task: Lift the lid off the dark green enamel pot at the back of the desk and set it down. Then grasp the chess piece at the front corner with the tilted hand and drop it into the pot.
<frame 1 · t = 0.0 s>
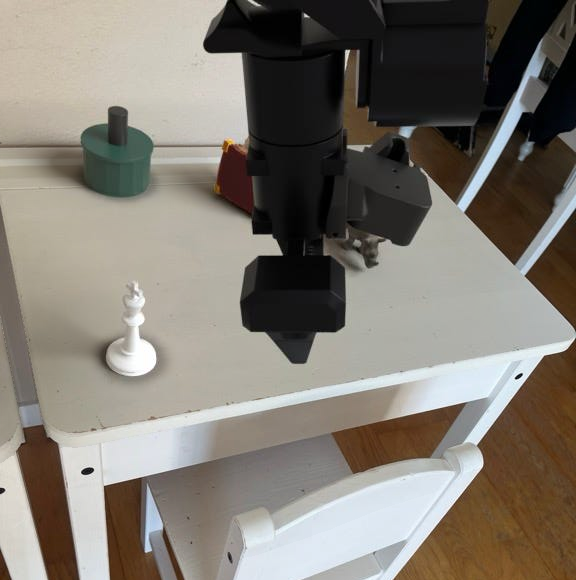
hand: (301, 320, 49), 16 cm above the table, tool pointing down, fingers open, 9 cm apart
chess piece: (131, 359, 63), on the table
book monster: (262, 199, 88), on the table
rhino figurine: (354, 250, 84), on the table
pot: (117, 179, 83), on the table
pot lid: (117, 144, 79), point 5 cm above the table, touching pot
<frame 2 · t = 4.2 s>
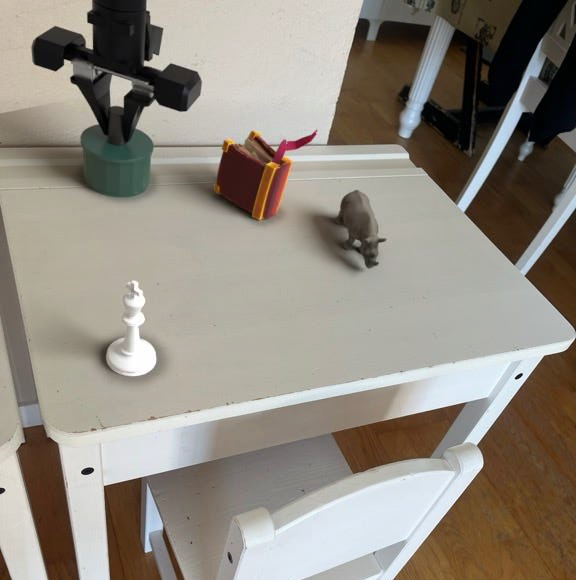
hand: (117, 137, 79), 6 cm above the table, tool pointing down, fingers closed on pot lid, 2 cm apart
pot lid: (117, 144, 79), point 5 cm above the table, touching gripper, pot
everything else where it was.
when the fingers open (2 cm above the table, at t = 9.6 s): pot lid stays where it is, point 1 cm above the table.
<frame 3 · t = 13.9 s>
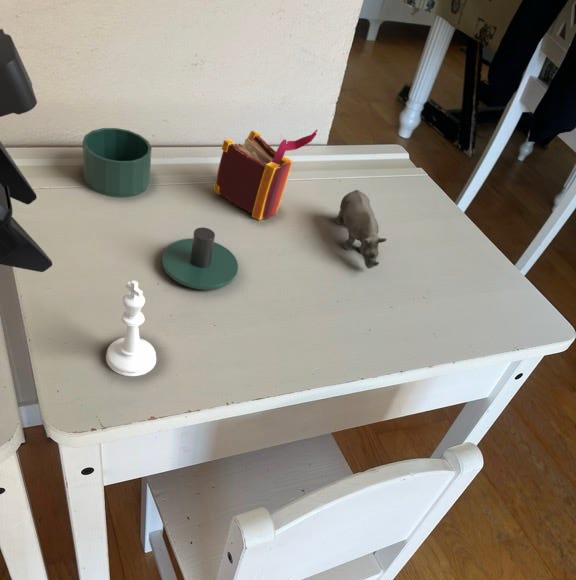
hand: (39, 232, 50), 15 cm above the table, tool tilted 40°, fingers open, 9 cm apart
pot lid: (200, 264, 74), point 1 cm above the table
everything else where it was.
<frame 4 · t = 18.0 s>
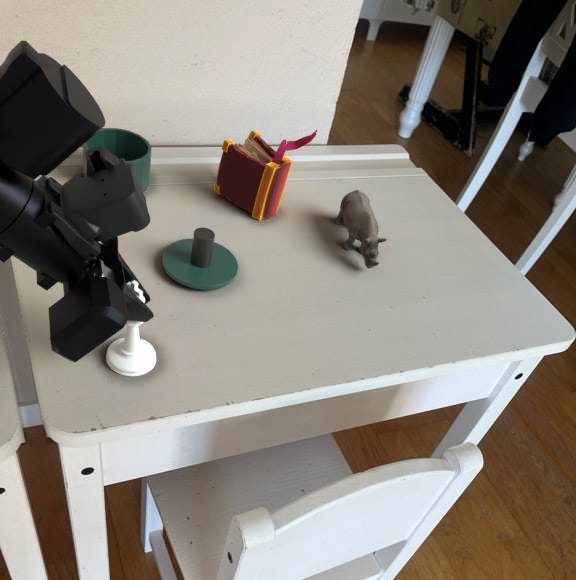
hand: (148, 310, 58), 7 cm above the table, tool tilted 45°, fingers closed on chess piece
chess piece: (131, 359, 63), on the table, touching gripper
everything else where it was.
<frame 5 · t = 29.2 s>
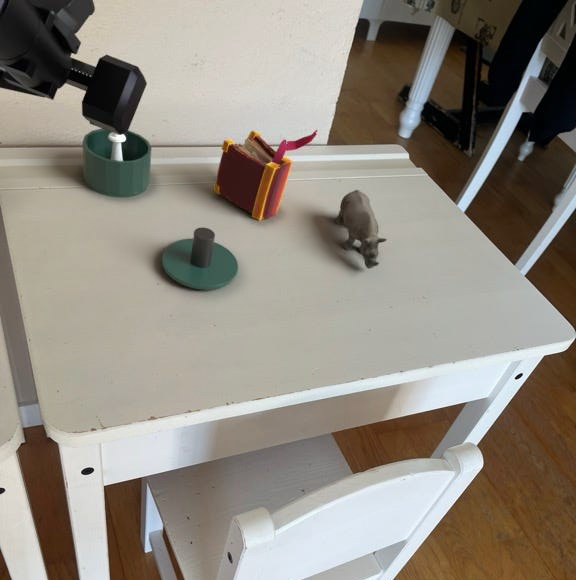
hand: (83, 107, 69), 13 cm above the table, tool tilted 45°, fingers open, 9 cm apart
chess piece: (116, 178, 83), resting on pot
everything else where it was.
at the end: pot lid inside the target area (0.1 cm from its centre), point 0.6 cm above the table; chess piece 0.3 cm off-centre in the pot, point 0.3 cm above the pot's base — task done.
